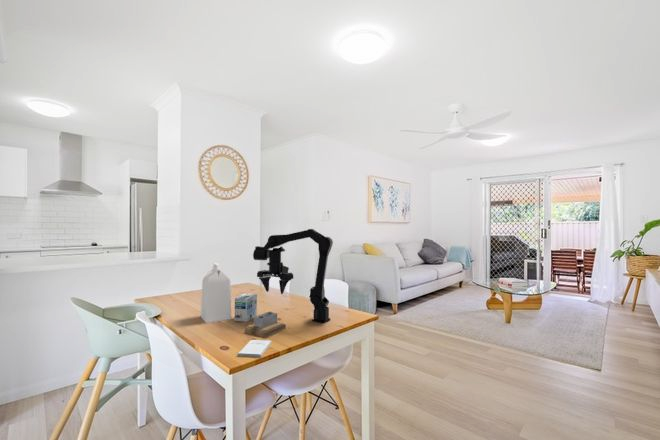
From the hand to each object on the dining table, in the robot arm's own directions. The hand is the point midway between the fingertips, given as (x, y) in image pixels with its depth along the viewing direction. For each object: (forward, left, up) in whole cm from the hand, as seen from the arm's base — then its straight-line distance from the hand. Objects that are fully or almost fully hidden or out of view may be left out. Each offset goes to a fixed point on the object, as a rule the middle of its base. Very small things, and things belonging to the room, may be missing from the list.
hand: (274, 292), depth 144 cm
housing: (-9, +16, -10) cm, 21 cm away
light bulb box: (+11, +8, -12) cm, 18 cm away
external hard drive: (-19, +32, -13) cm, 39 cm away
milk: (+24, +15, -12) cm, 31 cm away
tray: (-9, +16, -12) cm, 22 cm away
